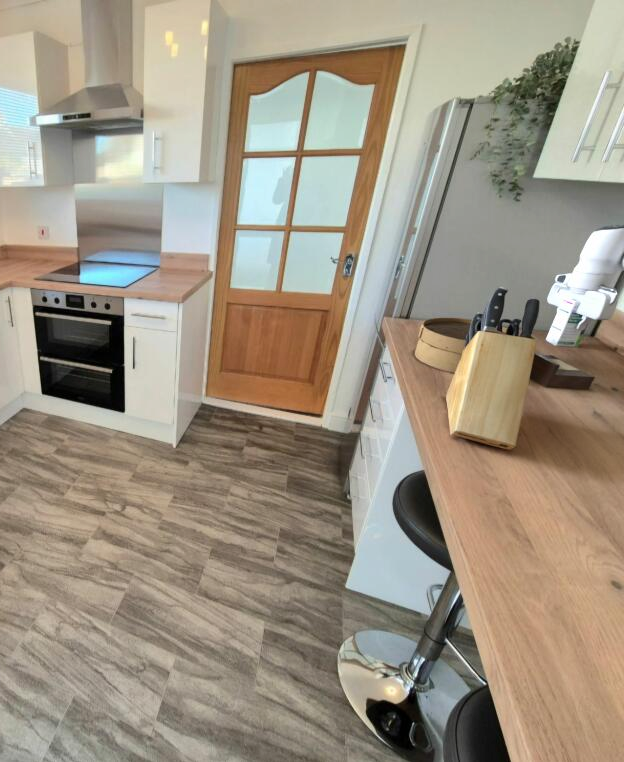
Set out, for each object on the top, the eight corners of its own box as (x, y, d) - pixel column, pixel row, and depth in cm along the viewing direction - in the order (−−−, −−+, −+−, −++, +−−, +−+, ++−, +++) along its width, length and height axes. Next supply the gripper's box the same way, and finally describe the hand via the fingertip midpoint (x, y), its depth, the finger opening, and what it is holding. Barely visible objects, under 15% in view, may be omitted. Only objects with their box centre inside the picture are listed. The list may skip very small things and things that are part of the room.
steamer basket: (399, 358, 144) (409, 326, 139) (429, 342, 157) (439, 312, 152) (490, 384, 126) (506, 349, 121) (515, 363, 139) (530, 330, 134)
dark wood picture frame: (547, 366, 137) (557, 346, 134) (588, 389, 123) (600, 367, 120) (508, 364, 139) (517, 344, 136) (545, 386, 125) (556, 365, 121)
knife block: (492, 394, 120) (540, 285, 107) (511, 457, 94) (579, 323, 80) (443, 384, 126) (483, 279, 112) (448, 441, 100) (502, 313, 86)
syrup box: (555, 346, 136) (575, 301, 130) (544, 339, 141) (563, 296, 135) (577, 347, 134) (599, 302, 128) (566, 341, 140) (586, 297, 133)
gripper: (633, 290, 119) (609, 336, 125) (574, 274, 138) (556, 316, 144) (607, 289, 120) (584, 336, 126) (552, 274, 139) (534, 315, 145)
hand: (569, 325), depth 135 cm, fingers closed on syrup box, 6 cm apart
